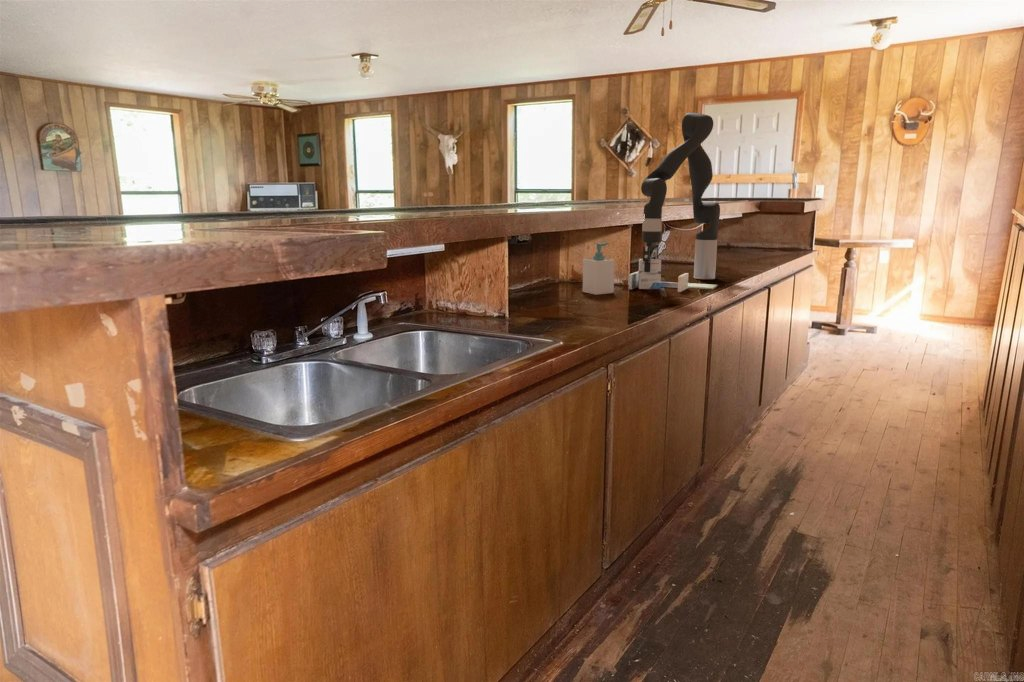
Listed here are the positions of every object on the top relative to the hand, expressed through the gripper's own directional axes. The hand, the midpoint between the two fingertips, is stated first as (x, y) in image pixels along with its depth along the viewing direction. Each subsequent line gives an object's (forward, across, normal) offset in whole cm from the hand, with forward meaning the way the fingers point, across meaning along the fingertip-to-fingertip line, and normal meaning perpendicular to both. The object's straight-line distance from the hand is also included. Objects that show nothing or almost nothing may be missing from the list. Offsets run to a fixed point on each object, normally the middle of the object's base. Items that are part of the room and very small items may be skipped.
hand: (650, 271), depth 273 cm
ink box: (+7, 0, 0) cm, 7 cm away
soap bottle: (+7, -19, +15) cm, 25 cm away
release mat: (+7, +13, -17) cm, 23 cm away
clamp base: (+7, +1, -3) cm, 8 cm away
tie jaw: (+7, 0, -14) cm, 15 cm away
